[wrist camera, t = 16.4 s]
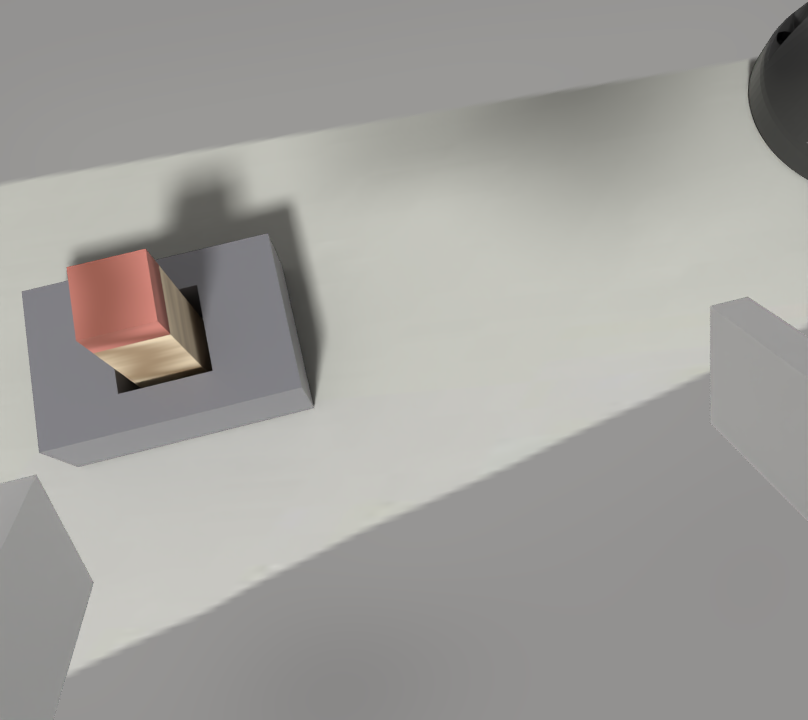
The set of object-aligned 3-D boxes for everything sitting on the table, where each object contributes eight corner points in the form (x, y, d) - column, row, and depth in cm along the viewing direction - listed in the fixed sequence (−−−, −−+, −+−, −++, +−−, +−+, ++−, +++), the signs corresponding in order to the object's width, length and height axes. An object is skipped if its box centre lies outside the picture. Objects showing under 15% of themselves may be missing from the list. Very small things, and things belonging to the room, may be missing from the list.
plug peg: (209, 328, 49) (145, 248, 38) (220, 385, 48) (157, 320, 37) (149, 343, 49) (66, 267, 38) (158, 400, 48) (76, 340, 36)
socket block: (282, 267, 50) (267, 233, 46) (313, 407, 47) (301, 387, 43) (60, 320, 50) (21, 291, 45) (78, 466, 47) (39, 452, 42)
